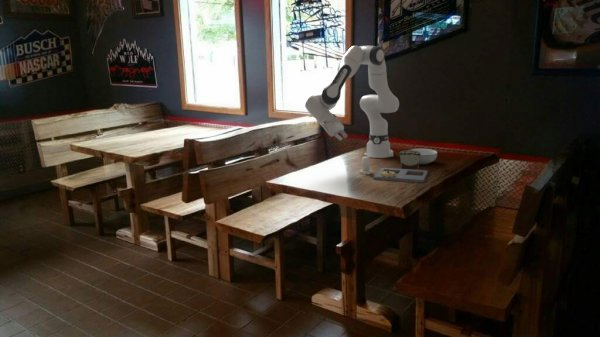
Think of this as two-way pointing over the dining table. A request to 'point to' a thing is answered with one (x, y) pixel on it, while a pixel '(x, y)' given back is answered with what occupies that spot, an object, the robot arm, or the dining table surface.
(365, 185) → the dining table surface
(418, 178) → the gear board
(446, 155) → the dining table surface
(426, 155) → the cereal bowl
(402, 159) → the food container
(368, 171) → the gear shaft
